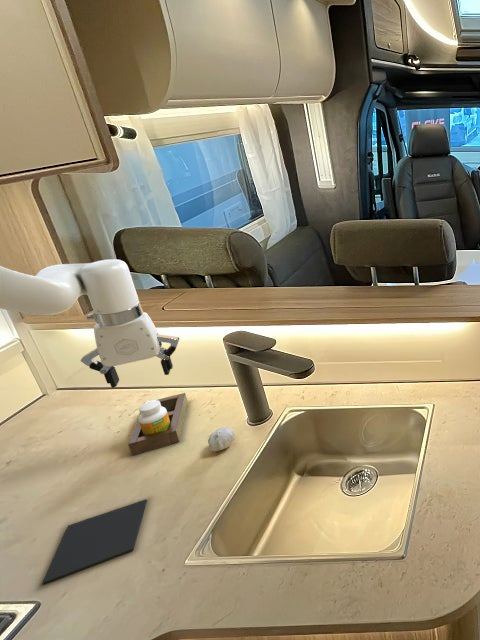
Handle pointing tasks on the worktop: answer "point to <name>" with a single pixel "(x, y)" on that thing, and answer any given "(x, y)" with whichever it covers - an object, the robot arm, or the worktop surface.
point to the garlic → (221, 439)
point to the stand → (162, 438)
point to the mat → (97, 540)
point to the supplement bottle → (153, 418)
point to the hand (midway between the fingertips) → (142, 377)
